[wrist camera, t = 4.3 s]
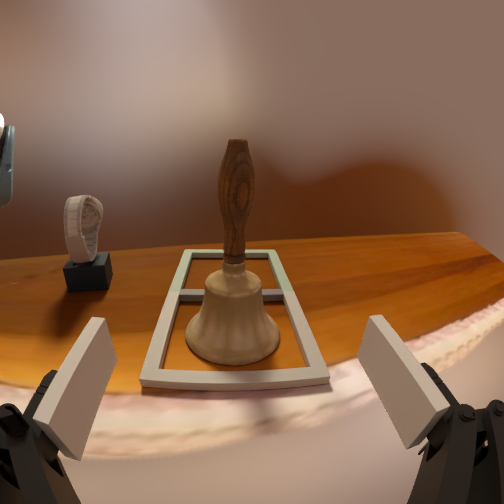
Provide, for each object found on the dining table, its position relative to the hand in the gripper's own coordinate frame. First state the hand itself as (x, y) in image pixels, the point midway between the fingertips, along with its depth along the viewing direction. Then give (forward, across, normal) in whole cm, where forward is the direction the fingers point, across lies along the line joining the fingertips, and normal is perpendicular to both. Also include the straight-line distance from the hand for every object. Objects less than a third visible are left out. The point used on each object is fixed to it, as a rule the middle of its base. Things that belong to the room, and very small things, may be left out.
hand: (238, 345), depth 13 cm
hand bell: (+9, 0, -7) cm, 11 cm away
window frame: (+15, 0, -6) cm, 17 cm away
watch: (+18, -18, -7) cm, 27 cm away
